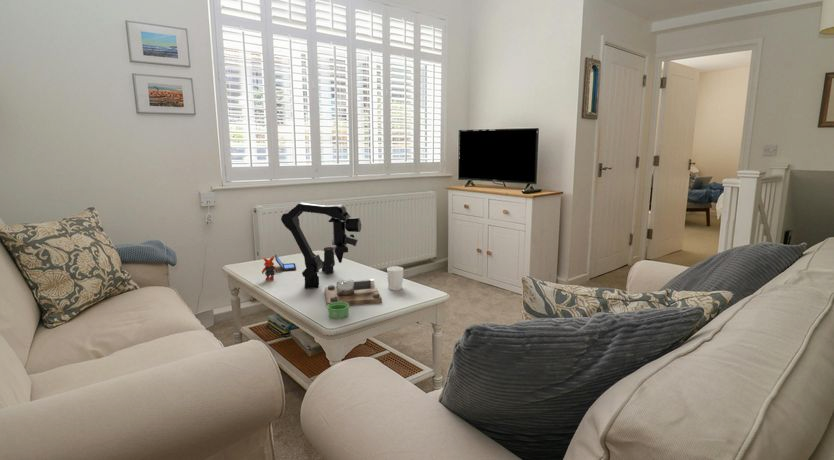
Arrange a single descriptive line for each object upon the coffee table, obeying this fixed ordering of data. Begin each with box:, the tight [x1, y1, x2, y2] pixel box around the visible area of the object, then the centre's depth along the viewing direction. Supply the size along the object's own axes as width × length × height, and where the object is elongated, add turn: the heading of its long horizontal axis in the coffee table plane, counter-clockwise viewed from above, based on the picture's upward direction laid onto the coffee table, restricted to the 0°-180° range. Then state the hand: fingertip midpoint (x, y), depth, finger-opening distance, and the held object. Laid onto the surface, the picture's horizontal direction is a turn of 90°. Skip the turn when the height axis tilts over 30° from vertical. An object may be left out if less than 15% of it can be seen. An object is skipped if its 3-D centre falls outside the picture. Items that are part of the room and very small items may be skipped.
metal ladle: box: [336, 278, 375, 296], centre depth 209 cm, size 17×8×6 cm, turn 107°
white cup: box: [386, 265, 404, 291], centre depth 221 cm, size 8×8×10 cm
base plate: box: [324, 283, 383, 306], centre depth 209 cm, size 24×21×3 cm
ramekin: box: [326, 302, 350, 320], centre depth 188 cm, size 9×9×4 cm
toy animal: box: [261, 256, 278, 282], centre depth 234 cm, size 8×6×12 cm
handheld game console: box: [274, 254, 297, 272], centre depth 254 cm, size 12×11×7 cm
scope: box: [321, 246, 336, 275], centre depth 246 cm, size 8×14×10 cm
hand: (340, 262), depth 219 cm, fingers closed
